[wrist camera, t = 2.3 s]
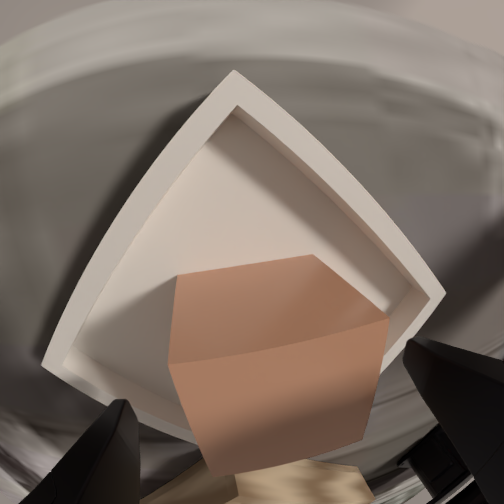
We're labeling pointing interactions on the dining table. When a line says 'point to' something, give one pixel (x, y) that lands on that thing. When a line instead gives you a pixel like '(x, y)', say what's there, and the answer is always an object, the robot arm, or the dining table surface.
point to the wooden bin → (267, 486)
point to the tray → (226, 247)
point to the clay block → (274, 361)
